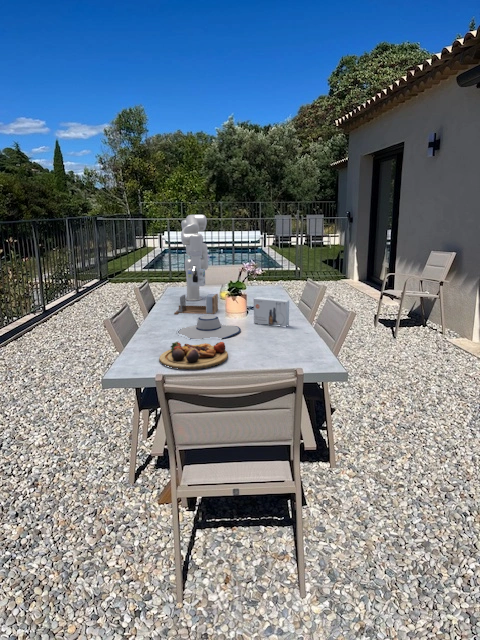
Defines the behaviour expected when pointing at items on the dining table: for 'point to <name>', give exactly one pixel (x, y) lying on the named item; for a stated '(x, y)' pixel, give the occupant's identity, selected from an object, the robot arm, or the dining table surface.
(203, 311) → the shelf
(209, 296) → the book
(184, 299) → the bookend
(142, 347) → the dining table surface
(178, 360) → the wooden plate with food
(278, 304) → the skincare box
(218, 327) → the sun hat
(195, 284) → the light bulb box
